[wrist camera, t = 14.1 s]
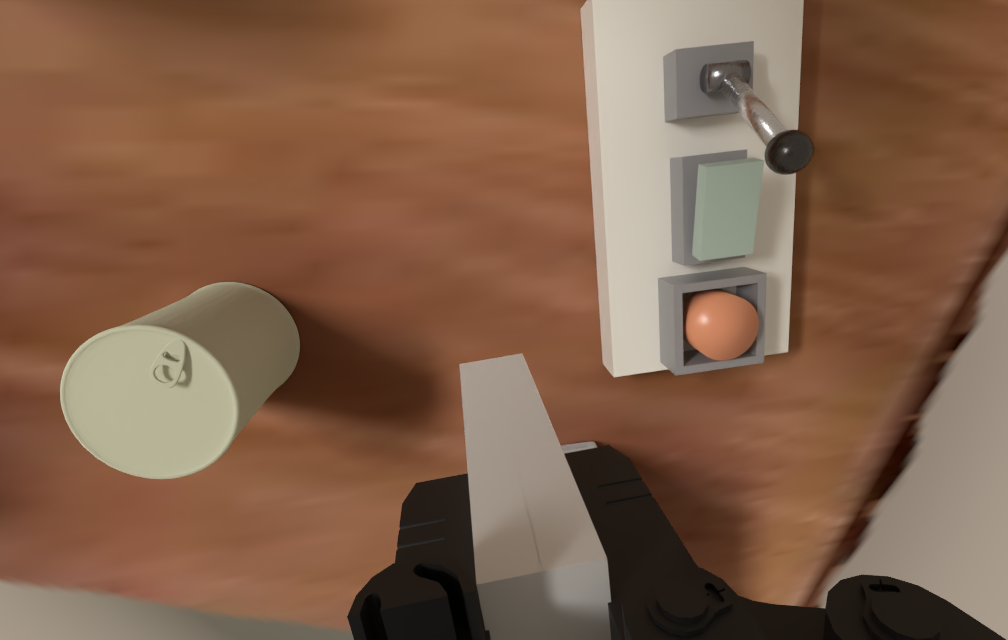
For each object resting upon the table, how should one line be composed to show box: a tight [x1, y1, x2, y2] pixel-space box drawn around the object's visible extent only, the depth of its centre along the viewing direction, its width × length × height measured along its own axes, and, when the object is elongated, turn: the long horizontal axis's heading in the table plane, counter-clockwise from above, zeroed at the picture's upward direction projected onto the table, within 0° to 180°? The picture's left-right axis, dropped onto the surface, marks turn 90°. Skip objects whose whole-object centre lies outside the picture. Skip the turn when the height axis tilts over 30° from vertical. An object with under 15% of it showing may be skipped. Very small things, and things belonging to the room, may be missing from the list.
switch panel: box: [580, 0, 804, 377], centre depth 36 cm, size 26×14×6 cm, turn 7°
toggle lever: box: [700, 60, 814, 175], centre depth 28 cm, size 2×2×10 cm
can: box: [60, 282, 300, 479], centre depth 33 cm, size 9×9×12 cm
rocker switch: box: [692, 158, 764, 261], centre depth 33 cm, size 6×4×1 cm, turn 7°
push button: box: [683, 288, 759, 361], centre depth 36 cm, size 5×5×3 cm
